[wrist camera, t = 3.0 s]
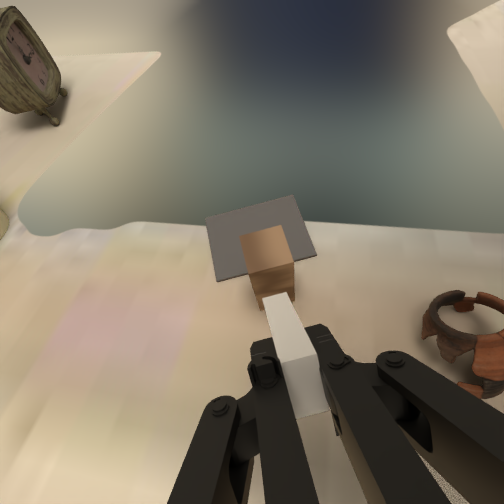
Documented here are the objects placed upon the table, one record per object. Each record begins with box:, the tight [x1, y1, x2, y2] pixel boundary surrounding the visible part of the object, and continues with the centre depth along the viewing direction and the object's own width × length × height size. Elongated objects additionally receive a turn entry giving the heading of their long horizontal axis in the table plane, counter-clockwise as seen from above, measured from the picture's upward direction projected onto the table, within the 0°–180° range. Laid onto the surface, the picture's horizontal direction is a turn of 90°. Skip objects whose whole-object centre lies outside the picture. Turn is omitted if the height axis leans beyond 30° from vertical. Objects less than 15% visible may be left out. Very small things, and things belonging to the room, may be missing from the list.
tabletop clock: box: [0, 6, 67, 125], centre depth 56 cm, size 14×9×25 cm, turn 9°
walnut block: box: [239, 225, 295, 311], centre depth 35 cm, size 4×4×11 cm
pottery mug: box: [422, 290, 504, 399], centre depth 31 cm, size 12×10×8 cm
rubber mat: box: [205, 195, 317, 282], centre depth 44 cm, size 14×11×1 cm
